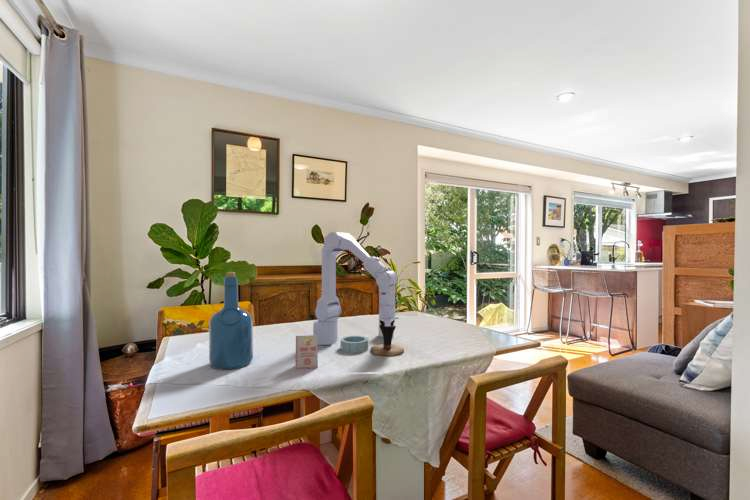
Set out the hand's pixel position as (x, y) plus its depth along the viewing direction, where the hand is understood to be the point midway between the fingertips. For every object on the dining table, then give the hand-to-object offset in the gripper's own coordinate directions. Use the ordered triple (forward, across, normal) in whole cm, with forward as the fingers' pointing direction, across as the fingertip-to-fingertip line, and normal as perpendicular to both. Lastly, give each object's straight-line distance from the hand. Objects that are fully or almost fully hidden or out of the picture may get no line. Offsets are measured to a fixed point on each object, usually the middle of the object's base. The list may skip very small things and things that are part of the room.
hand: (387, 342), depth 132 cm
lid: (+3, 0, 0) cm, 3 cm away
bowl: (+4, +3, +12) cm, 13 cm away
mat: (+4, 0, 0) cm, 4 cm away
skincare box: (+4, +21, 0) cm, 21 cm away
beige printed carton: (+4, -15, +26) cm, 30 cm away
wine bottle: (+4, -13, +51) cm, 53 cm away
